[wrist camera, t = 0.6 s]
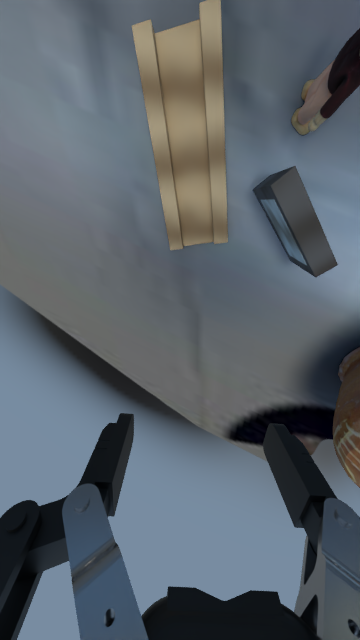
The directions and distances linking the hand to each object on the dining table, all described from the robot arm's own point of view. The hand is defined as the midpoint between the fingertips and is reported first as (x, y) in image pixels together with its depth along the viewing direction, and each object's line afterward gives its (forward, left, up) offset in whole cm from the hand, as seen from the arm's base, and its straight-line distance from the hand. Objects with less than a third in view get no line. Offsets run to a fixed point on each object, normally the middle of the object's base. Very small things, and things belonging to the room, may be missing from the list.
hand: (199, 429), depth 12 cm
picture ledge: (-16, 0, -26) cm, 31 cm away
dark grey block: (-7, +12, -26) cm, 30 cm away
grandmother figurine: (-19, +14, -26) cm, 35 cm away
